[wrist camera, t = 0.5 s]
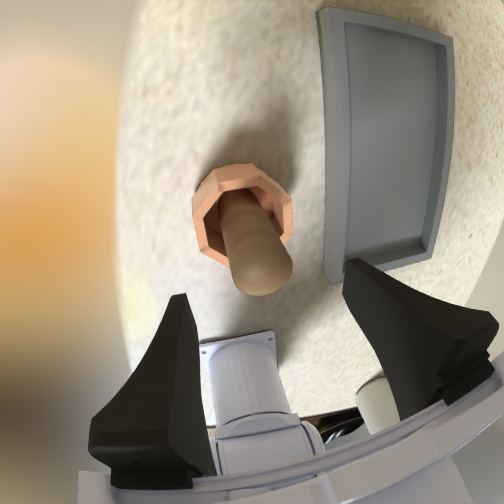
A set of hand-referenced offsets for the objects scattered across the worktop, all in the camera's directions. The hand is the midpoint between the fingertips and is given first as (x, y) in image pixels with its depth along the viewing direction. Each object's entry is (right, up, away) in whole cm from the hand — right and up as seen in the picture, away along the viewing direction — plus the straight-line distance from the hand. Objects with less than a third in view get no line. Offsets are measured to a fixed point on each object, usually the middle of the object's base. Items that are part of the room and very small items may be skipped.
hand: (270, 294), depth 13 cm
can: (+20, -22, +31) cm, 43 cm away
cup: (-2, +5, +9) cm, 10 cm away
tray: (+11, +10, +8) cm, 17 cm away
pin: (-2, +5, +8) cm, 10 cm away
